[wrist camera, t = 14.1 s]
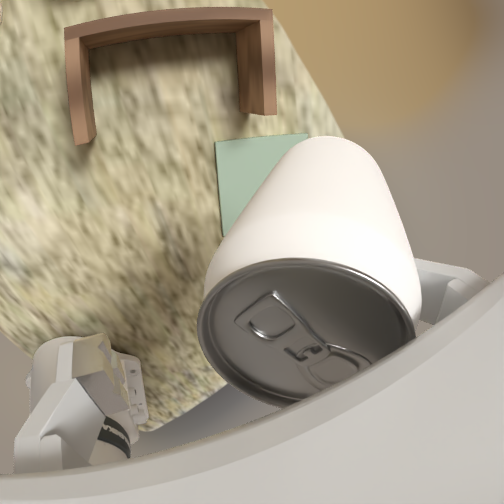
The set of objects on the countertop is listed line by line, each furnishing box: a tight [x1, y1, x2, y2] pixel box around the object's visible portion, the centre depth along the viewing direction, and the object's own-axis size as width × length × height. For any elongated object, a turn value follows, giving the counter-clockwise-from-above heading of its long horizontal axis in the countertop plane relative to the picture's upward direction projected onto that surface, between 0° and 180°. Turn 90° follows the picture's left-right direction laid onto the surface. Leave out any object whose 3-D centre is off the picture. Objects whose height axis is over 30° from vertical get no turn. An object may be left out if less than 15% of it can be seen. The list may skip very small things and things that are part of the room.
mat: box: [215, 133, 308, 236], centre depth 36 cm, size 11×11×1 cm
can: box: [197, 136, 422, 409], centre depth 12 cm, size 6×6×12 cm
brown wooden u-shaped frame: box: [64, 7, 277, 146], centre depth 24 cm, size 10×17×6 cm, turn 93°
